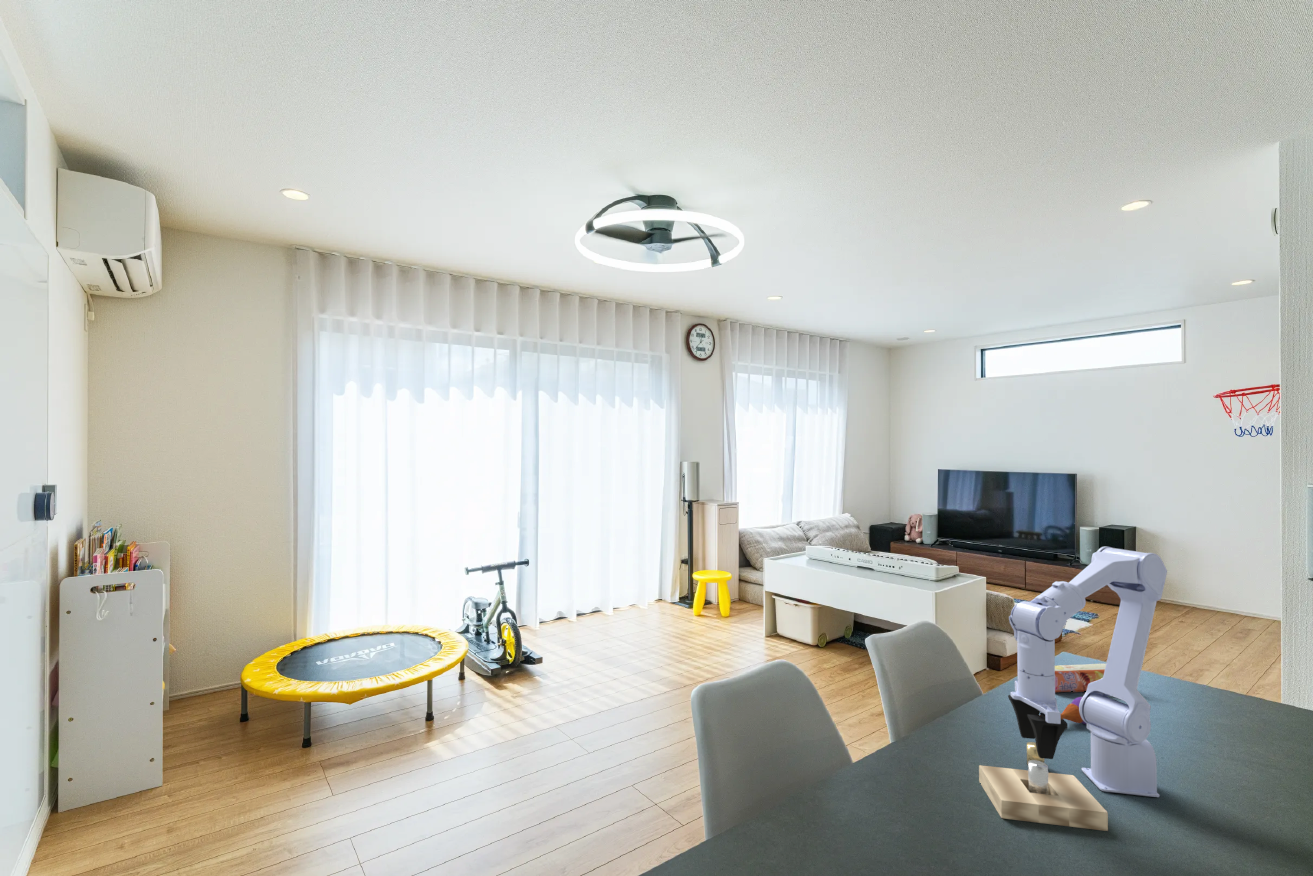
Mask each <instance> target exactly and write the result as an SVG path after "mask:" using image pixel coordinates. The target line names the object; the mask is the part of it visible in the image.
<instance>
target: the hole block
mask: <svg viewBox="0 0 1313 876" xmlns="http://www.w3.org/2000/svg"><path fill="white" fill-rule="evenodd" d="M978 782H979V784H980V783H981V784H980V785H981V787H982V788H983V790H984V791H985V794H986V795H987V796H988V798H989V800H990V801H991V803H992V805H993V806H994V808H995V810H996V811H997V813H998V815H999V816H1000V818H1001V819H1006V820H1014V821H1022V822H1029V823H1030V822H1031V823H1036V824H1037V823H1038V824H1047V825H1056V826H1061V827H1063V826H1064V827H1071V828H1072V827H1073V828H1080V829H1087V830H1096V831H1104V832H1109V824H1108V823H1109V814H1108V810H1106V809H1105V808H1104V806H1103V805H1101V804H1100V802H1099V801H1098V800H1097V799H1096V798H1095V797H1094V796H1093V795H1092V793H1090V792H1089V791H1088V789H1087V788H1086V787H1085V786H1084V785H1083V784H1082V782H1081V781H1080V780H1079V779H1078V778H1077V777H1076V776H1075V775H1073V774H1064V773H1056V772H1048V795H1046V794H1037V793H1030V792H1029V791H1028V769H1027V770H1025V769H1017V768H1010V767H1009V768H1008V767H1002V766H1001V767H999V766H990V765H978Z"/></svg>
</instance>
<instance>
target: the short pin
mask: <svg viewBox="0 0 1313 876" xmlns="http://www.w3.org/2000/svg"><path fill="white" fill-rule="evenodd" d="M1030 760H1037V761H1041V762H1043V763H1045V758H1040V757H1039V756H1038V753H1037V748H1036V741H1035V742H1034V741H1028V742H1026V765H1027V766H1028V761H1030Z"/></svg>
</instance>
